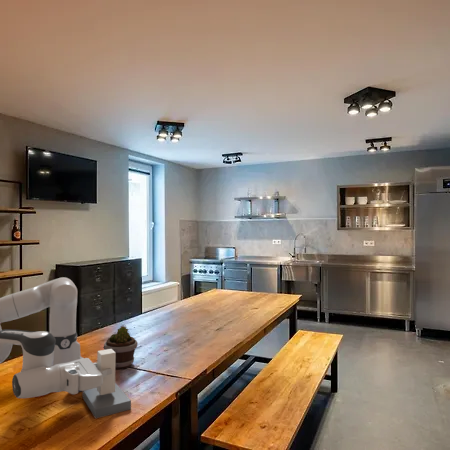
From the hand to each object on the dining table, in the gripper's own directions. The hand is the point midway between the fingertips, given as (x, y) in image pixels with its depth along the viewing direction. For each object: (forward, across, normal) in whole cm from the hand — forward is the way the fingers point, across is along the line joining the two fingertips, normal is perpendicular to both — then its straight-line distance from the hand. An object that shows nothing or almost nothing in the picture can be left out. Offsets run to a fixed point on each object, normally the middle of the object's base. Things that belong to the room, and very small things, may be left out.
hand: (108, 367), depth 135 cm
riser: (-1, 0, -12) cm, 12 cm away
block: (-1, 0, -8) cm, 8 cm away
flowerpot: (+15, -33, -13) cm, 38 cm away
